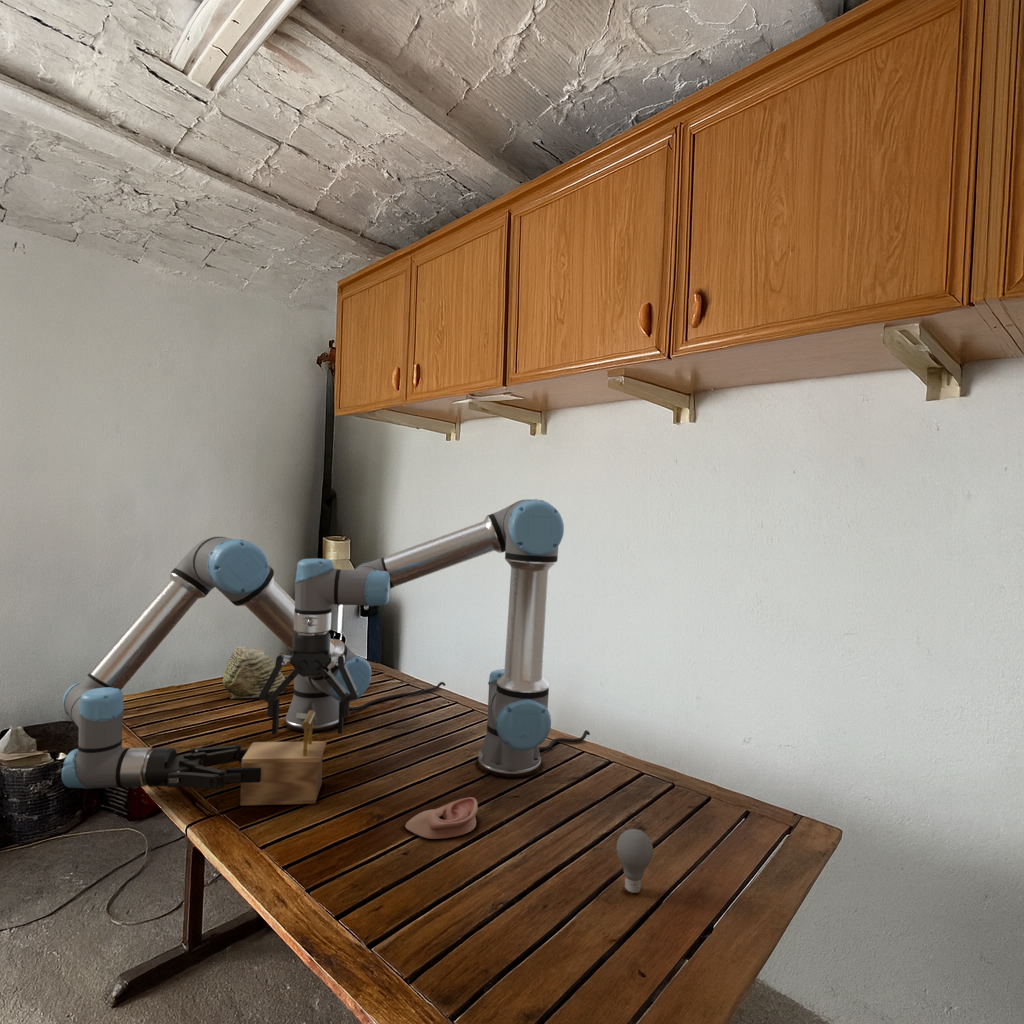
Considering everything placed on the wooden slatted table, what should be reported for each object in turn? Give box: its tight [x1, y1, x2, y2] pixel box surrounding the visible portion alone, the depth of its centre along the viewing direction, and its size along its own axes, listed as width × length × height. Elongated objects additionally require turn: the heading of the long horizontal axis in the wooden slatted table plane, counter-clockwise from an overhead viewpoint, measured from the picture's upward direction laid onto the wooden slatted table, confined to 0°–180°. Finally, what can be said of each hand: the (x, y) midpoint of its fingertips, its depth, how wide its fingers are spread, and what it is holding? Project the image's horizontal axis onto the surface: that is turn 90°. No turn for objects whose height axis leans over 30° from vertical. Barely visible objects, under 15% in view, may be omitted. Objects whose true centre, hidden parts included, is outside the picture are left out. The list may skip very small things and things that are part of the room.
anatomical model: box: [404, 796, 479, 840], centre depth 124 cm, size 13×4×12 cm
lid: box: [241, 710, 327, 764], centre depth 134 cm, size 15×9×8 cm, turn 99°
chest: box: [239, 754, 324, 807], centre depth 134 cm, size 15×9×9 cm, turn 99°
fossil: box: [222, 646, 287, 699], centre depth 198 cm, size 9×18×15 cm, turn 132°
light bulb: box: [615, 828, 654, 894], centre depth 106 cm, size 6×6×10 cm
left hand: (265, 764), depth 133 cm, fingers closed on chest, 9 cm apart
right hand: (308, 731), depth 134 cm, fingers open, 13 cm apart
